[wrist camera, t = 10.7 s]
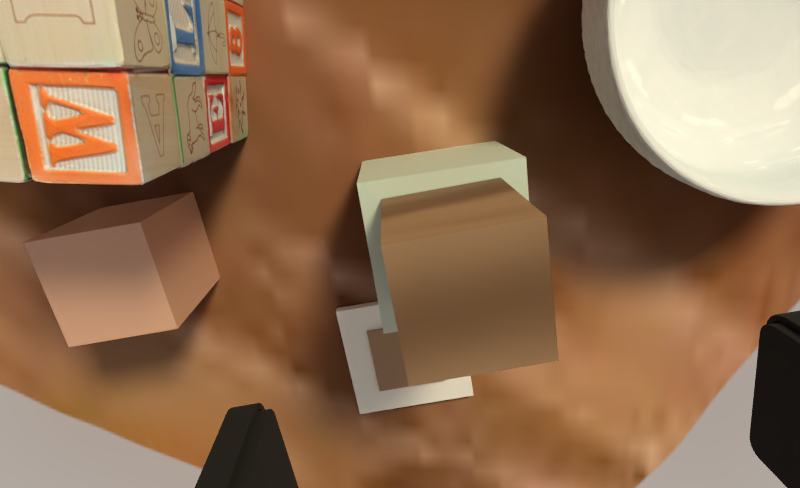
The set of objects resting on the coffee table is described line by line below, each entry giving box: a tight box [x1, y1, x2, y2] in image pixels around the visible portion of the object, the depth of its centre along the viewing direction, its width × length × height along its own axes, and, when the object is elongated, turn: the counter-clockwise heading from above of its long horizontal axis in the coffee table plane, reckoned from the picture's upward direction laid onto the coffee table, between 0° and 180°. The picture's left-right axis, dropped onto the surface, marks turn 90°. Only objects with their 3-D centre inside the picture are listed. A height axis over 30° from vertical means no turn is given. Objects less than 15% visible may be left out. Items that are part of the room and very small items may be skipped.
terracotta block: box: [23, 192, 220, 347], centre depth 24 cm, size 5×5×6 cm
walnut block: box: [381, 177, 559, 386], centre depth 18 cm, size 5×5×6 cm
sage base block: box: [357, 141, 529, 334], centre depth 24 cm, size 7×7×6 cm
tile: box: [336, 301, 473, 414], centre depth 29 cm, size 7×7×1 cm
